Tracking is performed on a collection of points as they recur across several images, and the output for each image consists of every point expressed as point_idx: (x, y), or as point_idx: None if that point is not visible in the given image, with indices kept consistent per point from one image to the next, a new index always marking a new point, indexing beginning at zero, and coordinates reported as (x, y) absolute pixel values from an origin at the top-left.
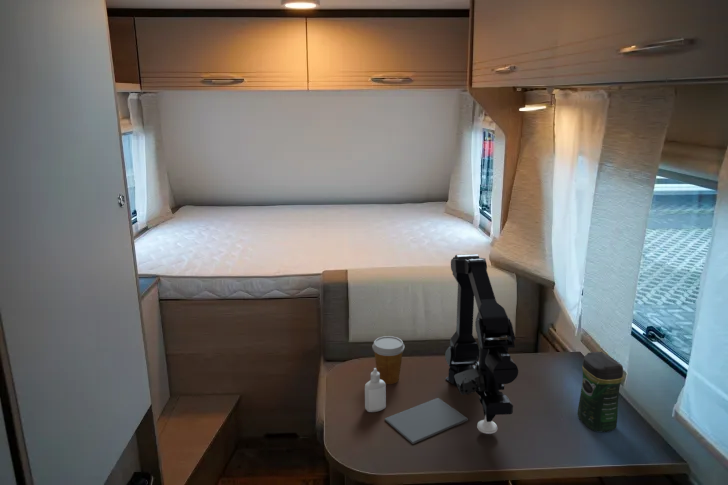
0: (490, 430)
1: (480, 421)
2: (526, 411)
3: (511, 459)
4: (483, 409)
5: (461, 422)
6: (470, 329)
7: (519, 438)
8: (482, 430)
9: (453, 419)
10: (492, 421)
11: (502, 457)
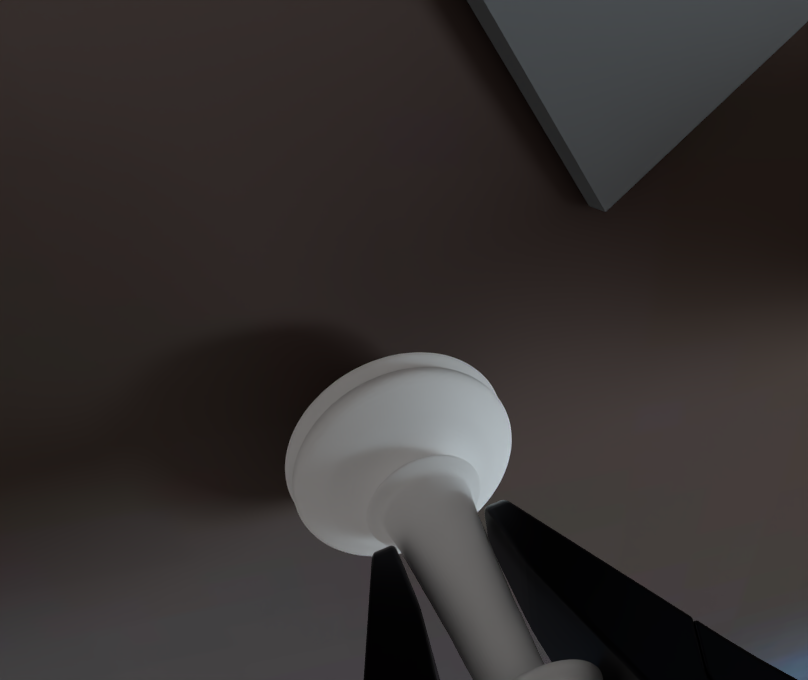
0: (309, 520)
1: (469, 402)
2: (652, 580)
3: (15, 645)
4: (557, 585)
5: (550, 134)
6: None
7: (357, 617)
8: (307, 434)
9: (597, 18)
10: (478, 508)
11: (8, 585)
